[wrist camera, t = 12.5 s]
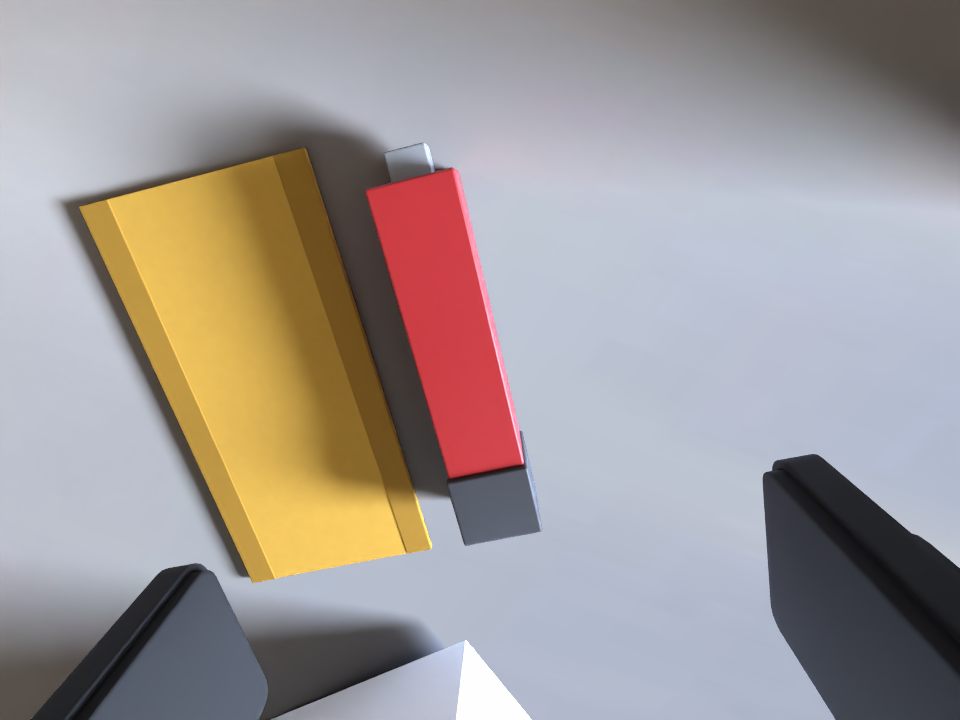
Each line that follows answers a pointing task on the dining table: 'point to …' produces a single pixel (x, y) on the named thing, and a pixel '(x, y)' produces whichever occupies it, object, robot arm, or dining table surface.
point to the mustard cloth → (264, 362)
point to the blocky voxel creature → (422, 693)
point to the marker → (454, 345)
